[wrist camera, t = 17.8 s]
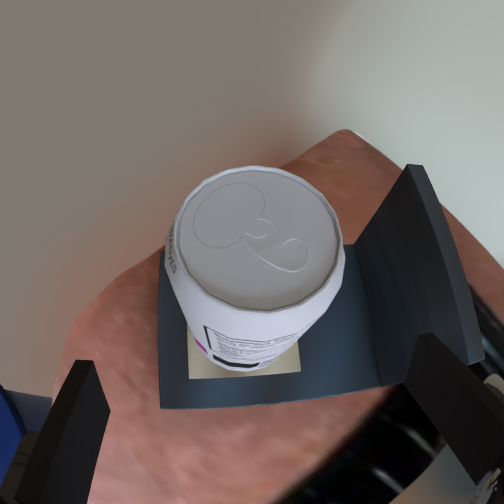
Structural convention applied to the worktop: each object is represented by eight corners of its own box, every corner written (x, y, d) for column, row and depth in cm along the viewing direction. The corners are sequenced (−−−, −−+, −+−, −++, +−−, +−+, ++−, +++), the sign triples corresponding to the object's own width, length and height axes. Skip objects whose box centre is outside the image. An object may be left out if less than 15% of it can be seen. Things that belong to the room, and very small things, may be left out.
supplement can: (172, 333, 26) (118, 248, 12) (231, 260, 29) (239, 132, 16) (253, 392, 24) (289, 374, 11) (308, 312, 27) (382, 216, 14)
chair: (172, 408, 29) (109, 408, 12) (170, 278, 35) (129, 162, 18) (366, 389, 31) (485, 358, 14) (346, 270, 37) (423, 165, 21)
